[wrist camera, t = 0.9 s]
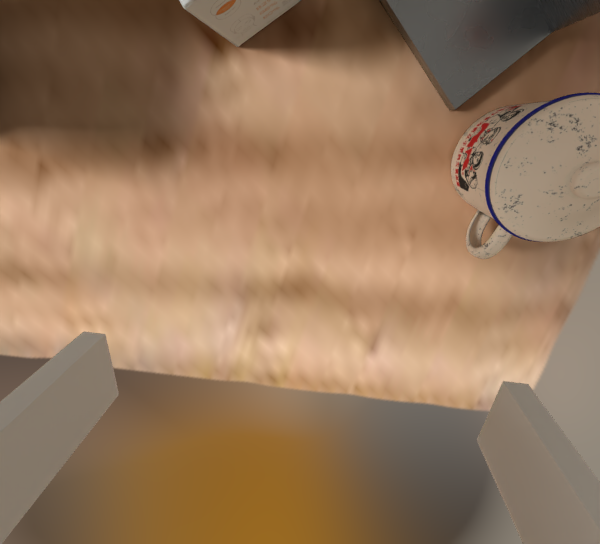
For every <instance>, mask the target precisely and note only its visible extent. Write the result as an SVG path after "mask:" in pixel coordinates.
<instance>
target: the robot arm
mask: <svg viewBox="0 0 600 544" xmlns="http://www.w3.org/2000/svg"><path fill="white" fill-rule="evenodd" d="M118 395H119V393H118V388H117V384H116V379H115V375H114V371H113V366H112V362H111V357H110V353H109V349H108V344H107V340H106V335H105V334H100V333H91V332H83V333H81V334H80V335H79V336H78V337H77V338H75V339H74V340H73V341H72V342H71V343H69V344H68V345H67V346H66V347H65V348H64V349H62V350H61V351H60V352H59V353H58V354H56V355H55V356H54V357H53V358H52V359H51V360H49V361H48V362H47V363H46V364H45V365H43V366H42V367H41V368H40V369H39V370H38V371H36V372H35V373H34V374H33V375H32V376H30V377H29V378H28V379H27V380H26V381H24V382H23V383H22V384H21V385H20V386H19V387H17V388H16V389H15V390H14V391H13V392H11V393H10V394H9V395H8V396H7V397H5V398H4V399H3V400H2V401H1V402H0V544H2V543H3V541H4V540H5V539H6V538H7V536H8V535H9V534H10V532H11V531H12V530H13V529H14V527H15V526H16V525H17V524H18V522H19V521H20V520H21V518H22V517H23V516H24V515H25V513H26V512H27V511H28V510H29V508H30V507H31V506H32V504H33V503H34V502H35V501H36V499H37V498H38V497H39V496H40V494H41V493H42V492H43V490H44V489H45V488H46V487H47V485H48V484H49V483H50V482H51V480H52V479H53V478H54V476H55V475H56V474H57V473H58V471H59V470H60V469H61V468H62V466H63V465H64V464H65V462H66V461H67V460H68V459H69V457H70V456H71V455H72V453H73V452H74V451H75V450H76V448H77V447H78V446H79V445H80V443H81V442H82V441H83V439H84V438H85V437H86V436H87V434H88V433H89V432H90V431H91V429H92V428H93V427H94V425H95V424H96V423H97V422H98V420H99V419H100V418H101V417H102V415H103V414H104V413H105V411H106V410H107V409H108V408H109V406H110V405H111V404H112V403H113V401H114V400H115V399H116V397H117V396H118ZM477 442H478V444H479V447H480V449H481V451H482V453H483V455H484V458H485V460H486V462H487V464H488V467H489V469H490V471H491V473H492V476H493V478H494V480H495V482H496V485H497V487H498V489H499V491H500V494H501V496H502V498H503V500H504V502H505V505H506V507H507V509H508V511H509V514H510V516H511V518H512V520H513V523H514V525H515V527H516V529H517V532H518V534H519V536H520V538H521V540H522V543H523V544H600V481H599V480H598V479H597V477H596V476H595V474H594V473H593V472H592V470H591V469H590V468H589V466H588V465H587V464H586V462H585V461H584V460H583V458H582V457H581V455H580V454H579V453H578V451H577V450H576V449H575V447H574V446H573V445H572V443H571V442H570V440H569V439H568V438H567V437H566V435H565V434H564V432H563V431H562V430H561V428H560V427H559V426H558V424H557V423H556V422H555V420H554V419H553V417H552V416H551V415H550V413H549V412H548V411H547V409H546V408H545V407H544V405H543V404H542V402H541V401H540V400H539V398H538V397H537V396H536V394H535V393H534V392H533V390H532V389H531V387H530V386H529V385H528V384H522V383H514V382H505V381H503V383H502V385H501V387H500V389H499V392H498V394H497V396H496V398H495V401H494V403H493V405H492V407H491V410H490V412H489V414H488V416H487V419H486V421H485V423H484V425H483V428H482V430H481V432H480V434H479V437H478V439H477Z"/></svg>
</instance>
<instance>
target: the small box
mask: <svg viewBox="0 0 600 544" xmlns="http://www.w3.org/2000/svg"><path fill="white" fill-rule="evenodd" d="M179 1H180V3H181V5H182V6H183V8H184V9H185V10H187V11H188V12H189V13H191V14H192V15H194V16H195V17H196V18H198V19H199V20H201V21H202V22H203V23H205V24H206V25H208V26H209V27H210V28H212V29H213V30H214V31H216V32H217V33H219V34H220V35H221V36H223V37H224V38H226V39H227V40H228V41H230V42H231V43H233V44H234V45H235V46H237V47H239V46H240V45H241V44H243V43H244V42H245V41H247V40H248V39H249V38H251V37H252V36H253V35H255V34H256V33H257V32H259V31H260V30H262V29H263V28H264V27H266V26H267V25H268V24H270V23H271V22H272V21H274V20H275V19H276V18H278V17H279V16H281V15H282V14H283V13H285V12H286V11H287V10H289V9H290V8H292V7H293V6H294V5H296V4H297V3H298V2H299V1H301V0H179Z"/></svg>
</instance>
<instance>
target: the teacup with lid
mask: <svg viewBox="0 0 600 544" xmlns="http://www.w3.org/2000/svg"><path fill="white" fill-rule="evenodd" d="M451 177H452V181H453V185H454V187H455V189H456V191H457V193H458V194H459V195H460V197H461V198H462V199H463V200H464V201H465V202H467V203H468V204H470V205H471V206H473V207H474V208H476V209H478V211H477V212H476V214H475V215H474V217H473V219H472V221H471V223H470V225H469V227H468V230H467V234H466V246H467V249H468V251H469V252H470V254H472V255H473V256H475V257H477V258H480V259H488V258H490V257H493V256H494V255H496V254H497V253H498V252H500V251H501V250H502V249H503V248H504V246H505V245H506V244H507V243H508V241H509V240H510V239H511V237H512V236H513V235H514V236H516V237H518V238H521V239H524V240H528V241H535V242H556V241H563V240H568V239H571V238H575V237H578V236H581V235H583V234H586V233H588V232H590V231H592V230H594V229H596V228H598V227H600V93H577V94H571V95H567V96H563V97H560V98H557V99H554V100H552V101H546V102H537V103H528V104H519V105H510V106H505V107H501V108H498V109H496V110H493V111H491V112H489V113H487V114H486V115H484V116H482V117H481V118H479V119H478V120H477V121H476V122H474V123H473V124H472V125H471V126H470V127H469V128H468V129H467V131H466V132H465V133H464V134H463V136H462V137H461V139H460V140H459V142H458V144H457V146H456V149H455V151H454V154H453V158H452V163H451ZM490 218H493V219H494V220H495V221H496V222H497V223H498V224H499V225H498V227H497V228H496V230H495V231H494V233H493V234H492V235H491V237H490V238H489V239H488V240H487V242H486V243H484V244H483V245H481V237H482V233H483V231H484V228H485V226H486V225H487V223H488V221H489V220H490Z"/></svg>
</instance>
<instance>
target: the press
mask: <svg viewBox="0 0 600 544" xmlns="http://www.w3.org/2000/svg"><path fill="white" fill-rule="evenodd" d="M380 2H381V4H382V5H383V7H384V8H385V10H386V11H387V13H388V15H389V16H390V18H391V19H392V21H393V22H394V24H395V26H396V27H397V29H398V30H399V32H400V33H401V35H402V37H403V38H404V40H405V41H406V43H407V44H408V46H409V48H410V49H411V51H412V52H413V54H414V55H415V57H416V59H417V60H418V62H419V63H420V65H421V66H422V68H423V70H424V71H425V73H426V74H427V76H428V77H429V79H430V81H431V82H432V84H433V85H434V87H435V88H436V90H437V92H438V93H439V95H440V96H441V98H442V99H443V101H444V103H445V104H446V106H447V107H448V109H449V110H456V109H457V108H458V107H459V106H461V105H462V104H463V103H464V102H466V101H467V100H468V99H469V98H470V97H472V96H473V95H474V94H475V93H477V92H478V91H479V90H480V89H482V88H483V87H484V86H485V85H487V84H488V83H489V82H490V81H492V80H493V79H494V78H495V77H497V76H498V75H499V74H500V73H502V72H503V71H504V70H505V69H507V68H508V67H509V66H510V65H512V64H513V63H514V62H515V61H517V60H518V59H519V58H520V57H522V56H523V55H524V54H525V53H527V52H528V51H529V50H530V49H532V48H533V47H534V46H535V45H537V44H538V43H539V42H540V41H542V40H543V39H544V38H545V37H547V36H548V35H549V34H550V33H552V32H554V31H556V30H559V29H561V28H563V27H566V26H568V25H570V24H573V23H575V22H577V21H580V20H582V19H584V18H587V17H589V16H591V15H594V14H596V13H598V12H600V0H380Z"/></svg>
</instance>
